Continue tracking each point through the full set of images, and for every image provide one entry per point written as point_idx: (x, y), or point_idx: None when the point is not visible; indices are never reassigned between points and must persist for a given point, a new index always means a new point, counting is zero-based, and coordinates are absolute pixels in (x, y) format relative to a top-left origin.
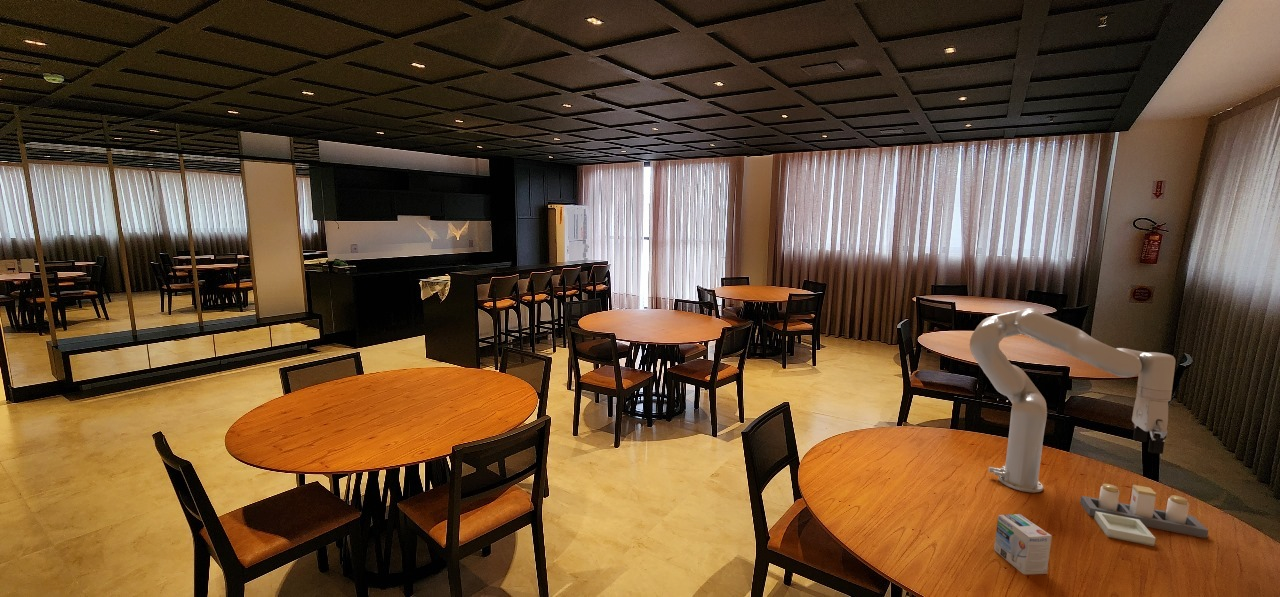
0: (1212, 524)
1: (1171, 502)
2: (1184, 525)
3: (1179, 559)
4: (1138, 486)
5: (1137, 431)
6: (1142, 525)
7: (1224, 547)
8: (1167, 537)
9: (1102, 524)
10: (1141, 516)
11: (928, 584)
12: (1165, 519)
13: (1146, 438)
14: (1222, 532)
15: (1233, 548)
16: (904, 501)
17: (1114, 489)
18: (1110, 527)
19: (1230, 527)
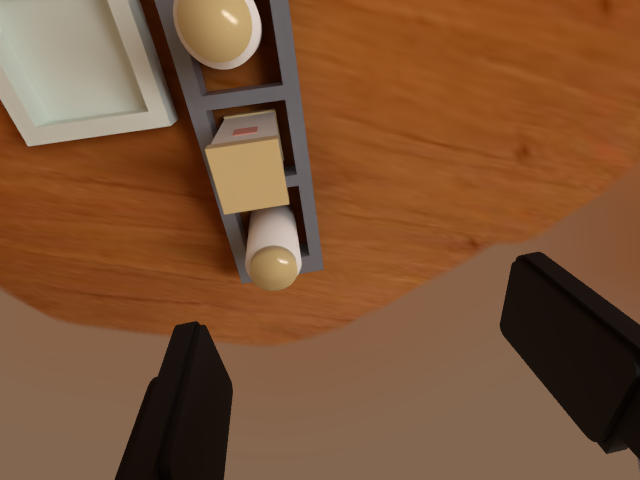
0: (344, 290)
1: (255, 244)
2: (231, 241)
3: (14, 187)
4: (271, 160)
5: (599, 352)
6: (117, 125)
7: (215, 289)
8: (167, 187)
9: None
10: (209, 138)
11: None
12: None
13: (520, 353)
14: (308, 299)
15: (224, 302)
16: None
17: (184, 36)
18: None
19: (349, 315)
